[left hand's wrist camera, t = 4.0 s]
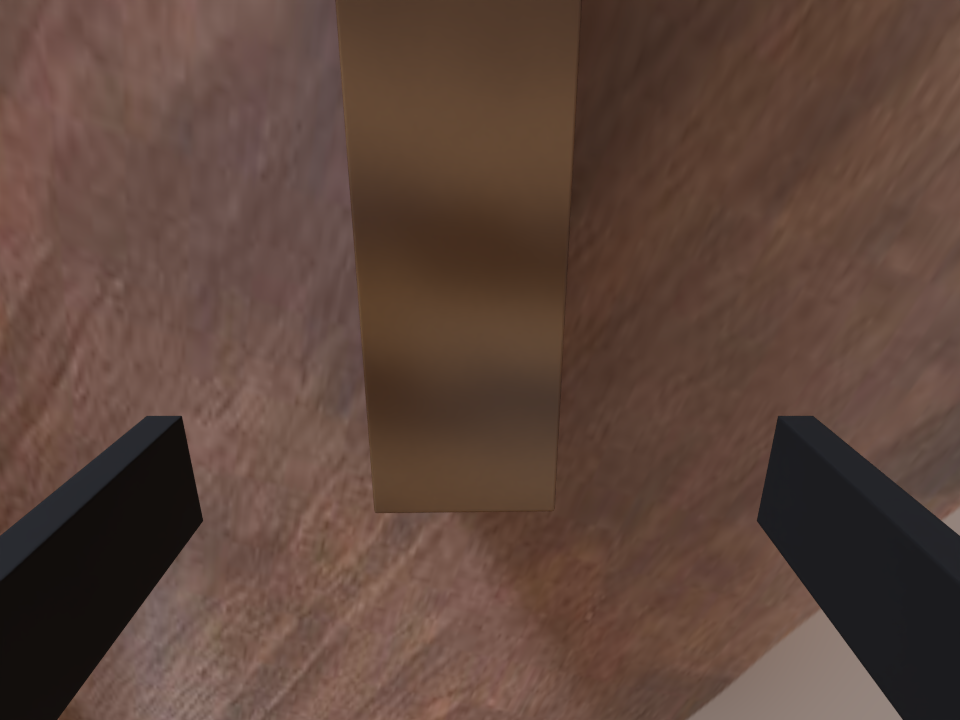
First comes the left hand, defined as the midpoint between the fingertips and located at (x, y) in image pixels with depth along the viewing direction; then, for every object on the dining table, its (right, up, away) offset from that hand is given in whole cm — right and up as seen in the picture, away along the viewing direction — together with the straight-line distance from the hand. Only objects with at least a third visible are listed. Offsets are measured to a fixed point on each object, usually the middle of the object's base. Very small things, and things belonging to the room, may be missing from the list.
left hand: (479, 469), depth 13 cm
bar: (-1, +24, +4) cm, 25 cm away
